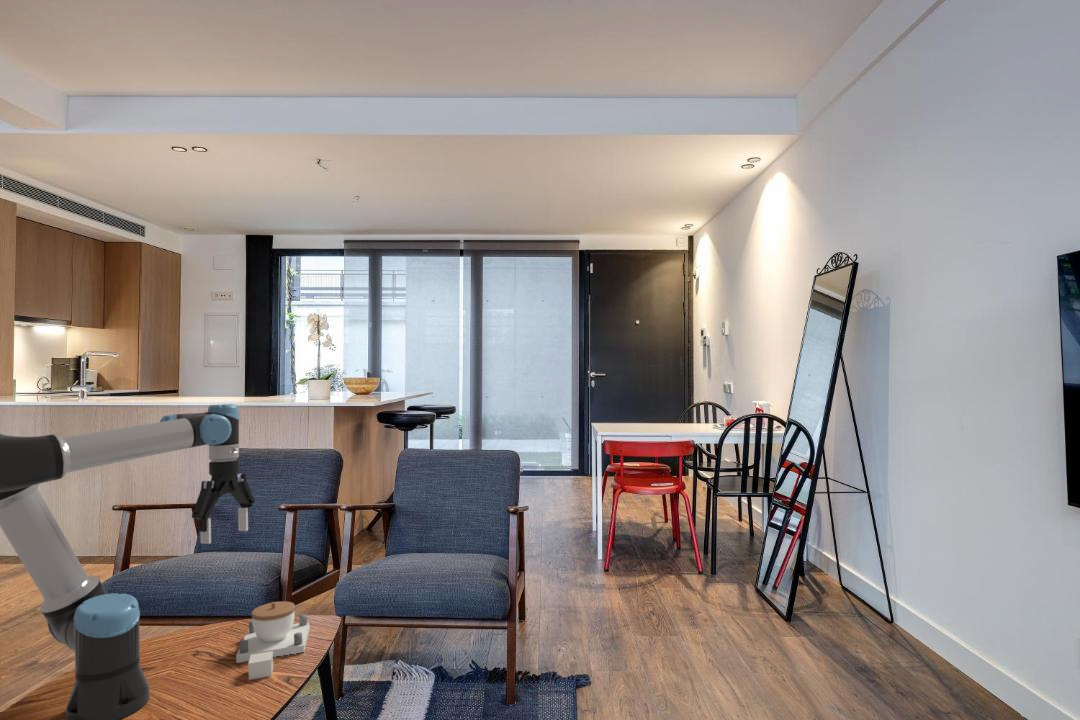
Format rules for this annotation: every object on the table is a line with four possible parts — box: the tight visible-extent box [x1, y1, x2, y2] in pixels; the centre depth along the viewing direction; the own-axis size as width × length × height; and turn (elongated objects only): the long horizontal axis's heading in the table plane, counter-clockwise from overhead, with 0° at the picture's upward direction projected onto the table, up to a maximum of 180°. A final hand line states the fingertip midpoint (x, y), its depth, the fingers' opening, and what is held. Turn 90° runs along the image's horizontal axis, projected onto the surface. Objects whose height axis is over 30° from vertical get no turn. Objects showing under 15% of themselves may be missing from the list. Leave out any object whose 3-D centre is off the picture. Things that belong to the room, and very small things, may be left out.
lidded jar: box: [251, 601, 296, 643], centre depth 164 cm, size 11×11×9 cm
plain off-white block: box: [247, 651, 274, 681], centre depth 149 cm, size 5×5×4 cm
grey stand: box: [235, 613, 311, 664], centre depth 164 cm, size 16×16×4 cm
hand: (225, 536), depth 169 cm, fingers open, 13 cm apart
